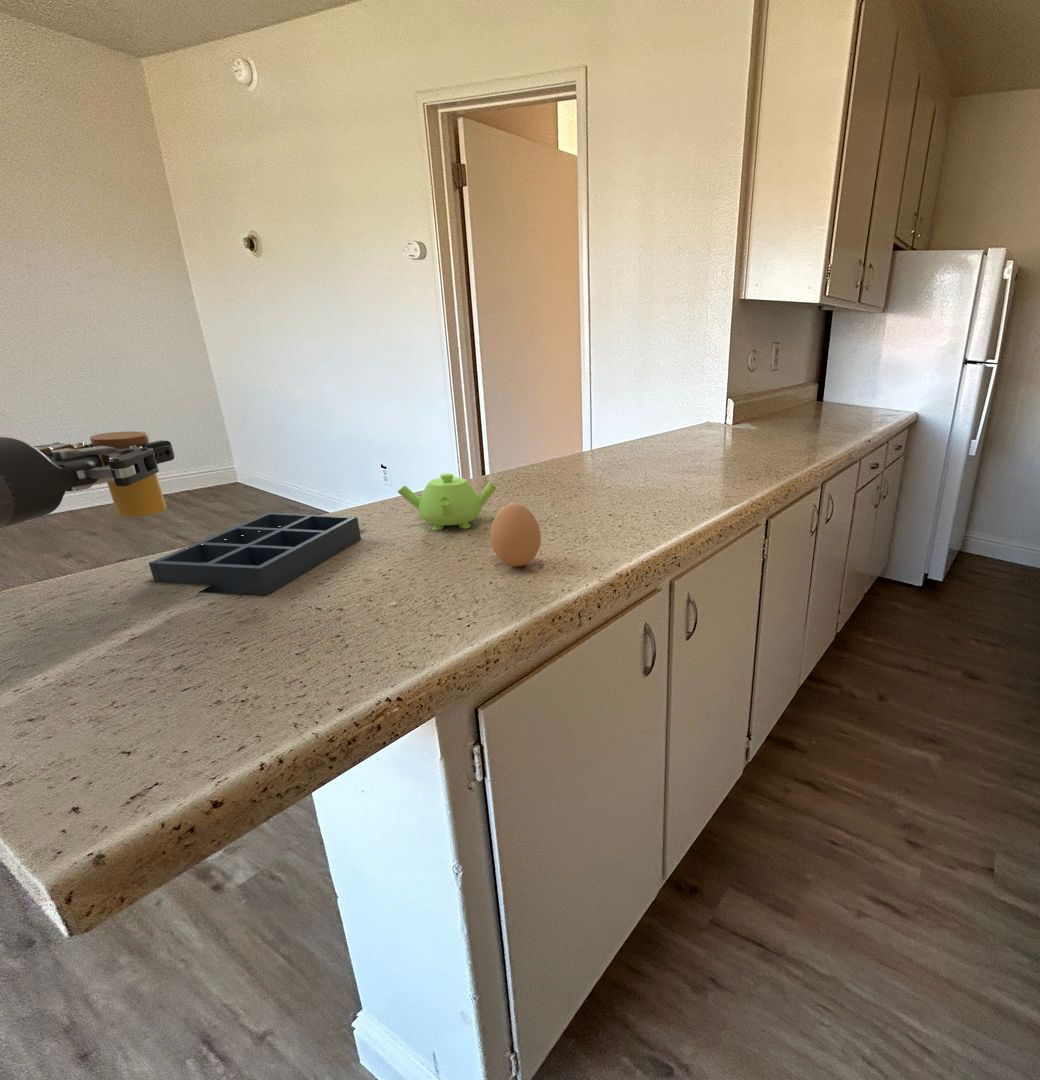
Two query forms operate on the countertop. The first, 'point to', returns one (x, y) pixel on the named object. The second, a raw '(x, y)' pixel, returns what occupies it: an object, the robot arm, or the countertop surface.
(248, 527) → the grid
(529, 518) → the egg
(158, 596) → the countertop surface
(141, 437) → the jar
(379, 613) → the countertop surface
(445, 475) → the teapot
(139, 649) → the countertop surface
